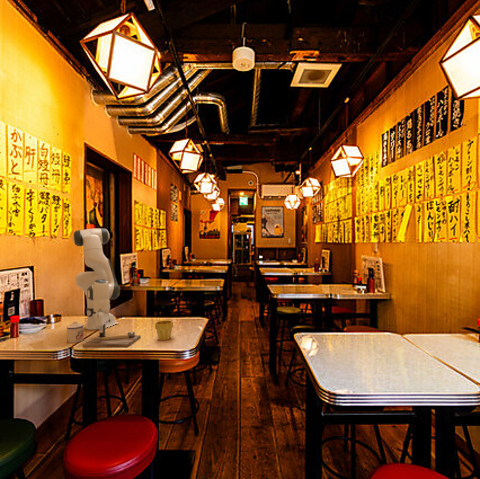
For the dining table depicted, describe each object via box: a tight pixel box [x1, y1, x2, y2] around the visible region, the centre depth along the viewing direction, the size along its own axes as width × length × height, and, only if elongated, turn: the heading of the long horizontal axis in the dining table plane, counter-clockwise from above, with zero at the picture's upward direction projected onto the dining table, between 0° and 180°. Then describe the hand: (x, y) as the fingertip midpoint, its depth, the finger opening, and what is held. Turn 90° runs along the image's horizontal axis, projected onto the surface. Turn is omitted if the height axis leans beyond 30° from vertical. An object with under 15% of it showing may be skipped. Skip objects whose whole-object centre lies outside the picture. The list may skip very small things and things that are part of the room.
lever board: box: [82, 334, 141, 348], centre depth 192 cm, size 18×26×2 cm
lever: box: [98, 324, 136, 340], centre depth 195 cm, size 20×4×9 cm, turn 103°
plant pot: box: [154, 319, 174, 341], centre depth 197 cm, size 10×10×10 cm
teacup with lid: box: [66, 320, 84, 344], centre depth 200 cm, size 12×9×12 cm
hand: (102, 331), depth 193 cm, fingers open, 4 cm apart
